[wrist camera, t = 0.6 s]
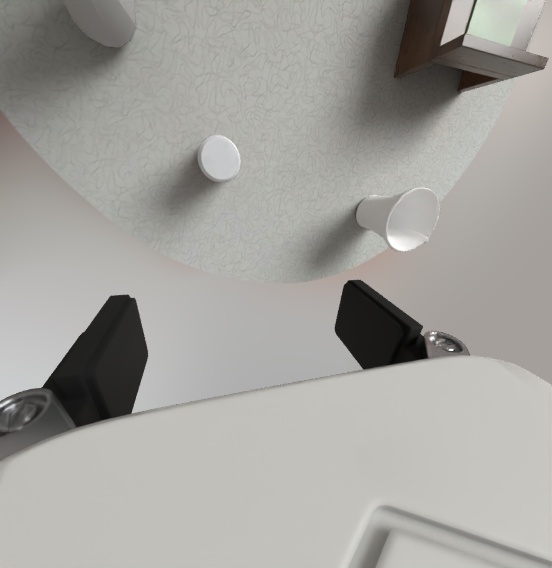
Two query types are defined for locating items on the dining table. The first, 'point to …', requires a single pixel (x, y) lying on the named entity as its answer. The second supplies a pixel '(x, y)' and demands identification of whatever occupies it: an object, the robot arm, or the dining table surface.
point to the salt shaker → (104, 19)
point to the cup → (401, 217)
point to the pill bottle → (218, 158)
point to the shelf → (471, 39)
